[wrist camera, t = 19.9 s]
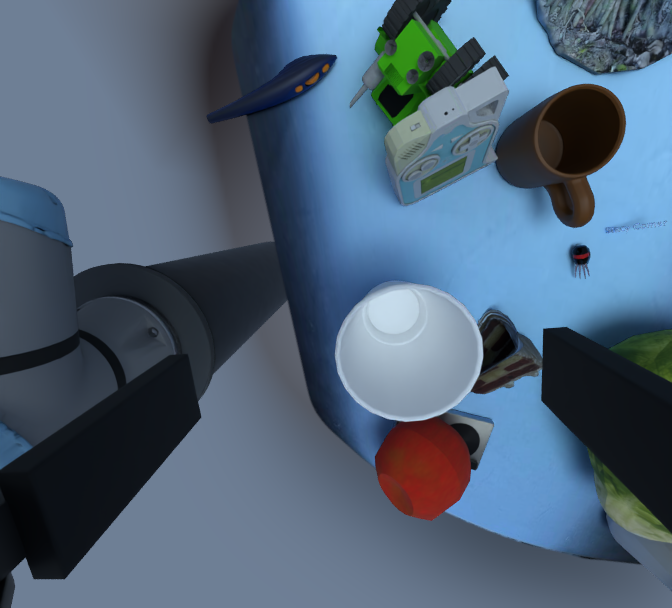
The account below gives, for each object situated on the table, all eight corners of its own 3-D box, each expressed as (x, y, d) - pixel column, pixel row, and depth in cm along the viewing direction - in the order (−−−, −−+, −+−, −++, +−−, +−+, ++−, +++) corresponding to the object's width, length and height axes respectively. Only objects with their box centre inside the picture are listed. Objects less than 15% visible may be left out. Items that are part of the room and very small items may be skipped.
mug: (577, 216, 39) (640, 214, 30) (507, 236, 41) (549, 240, 31) (559, 104, 37) (622, 66, 28) (486, 129, 38) (524, 99, 29)
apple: (394, 532, 41) (447, 468, 48) (454, 547, 33) (508, 466, 40) (347, 456, 42) (405, 403, 49) (394, 452, 34) (456, 389, 41)
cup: (439, 354, 44) (478, 425, 29) (346, 353, 45) (335, 420, 30) (444, 260, 42) (490, 283, 26) (345, 261, 43) (333, 284, 27)
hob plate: (388, 441, 48) (389, 450, 46) (402, 396, 46) (403, 404, 44) (474, 463, 48) (478, 473, 46) (491, 419, 46) (496, 427, 44)
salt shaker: (644, 530, 48) (743, 640, 35) (599, 531, 48) (681, 641, 36) (646, 493, 46) (750, 595, 34) (600, 496, 47) (685, 596, 34)
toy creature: (580, 282, 40) (580, 278, 38) (559, 261, 42) (558, 256, 40) (667, 226, 37) (672, 218, 35) (640, 205, 38) (644, 196, 36)
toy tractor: (500, 77, 23) (390, 178, 30) (512, 76, 35) (432, 147, 42) (396, -69, 22) (304, 70, 28) (446, -18, 34) (374, 71, 40)
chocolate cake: (479, 411, 46) (571, 403, 36) (437, 394, 44) (524, 380, 34) (481, 345, 51) (564, 322, 41) (444, 327, 48) (522, 297, 38)
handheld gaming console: (543, 73, 23) (498, 162, 38) (523, 38, 24) (486, 140, 38) (390, 159, 26) (403, 212, 40) (374, 127, 26) (393, 190, 41)
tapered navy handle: (217, 139, 41) (204, 125, 38) (212, 114, 41) (199, 100, 39) (344, 79, 37) (337, 60, 35) (335, 53, 38) (329, 33, 36)
